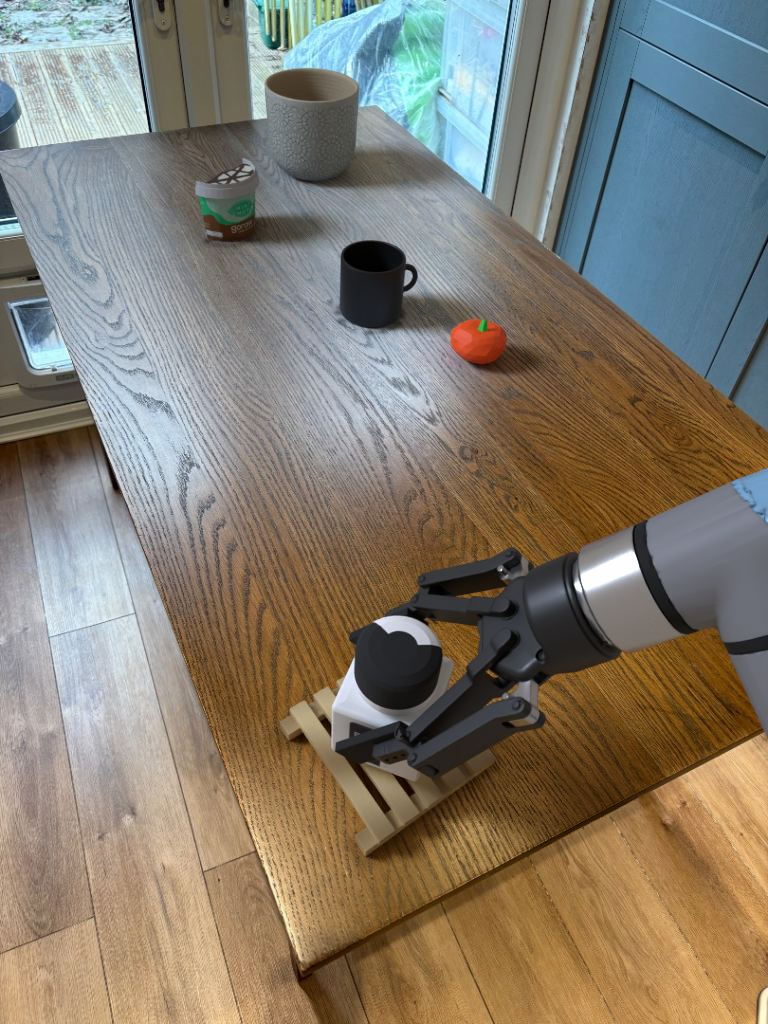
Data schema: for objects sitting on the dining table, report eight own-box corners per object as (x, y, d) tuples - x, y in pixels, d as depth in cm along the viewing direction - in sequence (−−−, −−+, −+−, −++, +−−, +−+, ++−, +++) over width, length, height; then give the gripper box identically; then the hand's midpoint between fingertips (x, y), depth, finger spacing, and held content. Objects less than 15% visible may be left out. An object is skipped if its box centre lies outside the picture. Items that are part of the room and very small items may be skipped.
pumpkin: (451, 338, 110) (457, 299, 106) (505, 347, 110) (513, 309, 105) (444, 366, 106) (449, 327, 101) (500, 376, 105) (508, 337, 100)
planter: (264, 187, 140) (259, 98, 128) (273, 149, 151) (269, 64, 140) (355, 192, 140) (358, 104, 129) (357, 154, 152) (360, 70, 140)
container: (417, 784, 61) (434, 709, 52) (329, 751, 63) (330, 672, 53) (444, 704, 66) (464, 622, 57) (363, 675, 68) (369, 590, 58)
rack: (495, 765, 67) (499, 755, 65) (366, 859, 61) (367, 850, 59) (402, 651, 74) (403, 640, 73) (278, 725, 68) (277, 715, 67)
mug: (426, 320, 113) (433, 265, 106) (351, 333, 110) (353, 277, 103) (403, 287, 119) (408, 234, 112) (331, 298, 116) (332, 244, 109)
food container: (229, 253, 123) (223, 193, 116) (201, 241, 125) (193, 181, 118) (276, 225, 130) (274, 167, 123) (249, 214, 132) (244, 156, 125)
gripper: (656, 784, 44) (373, 849, 56) (609, 510, 59) (393, 607, 70) (589, 735, 40) (300, 815, 52) (557, 454, 55) (337, 567, 67)
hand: (354, 695), depth 61 cm, fingers closed on container, 9 cm apart
